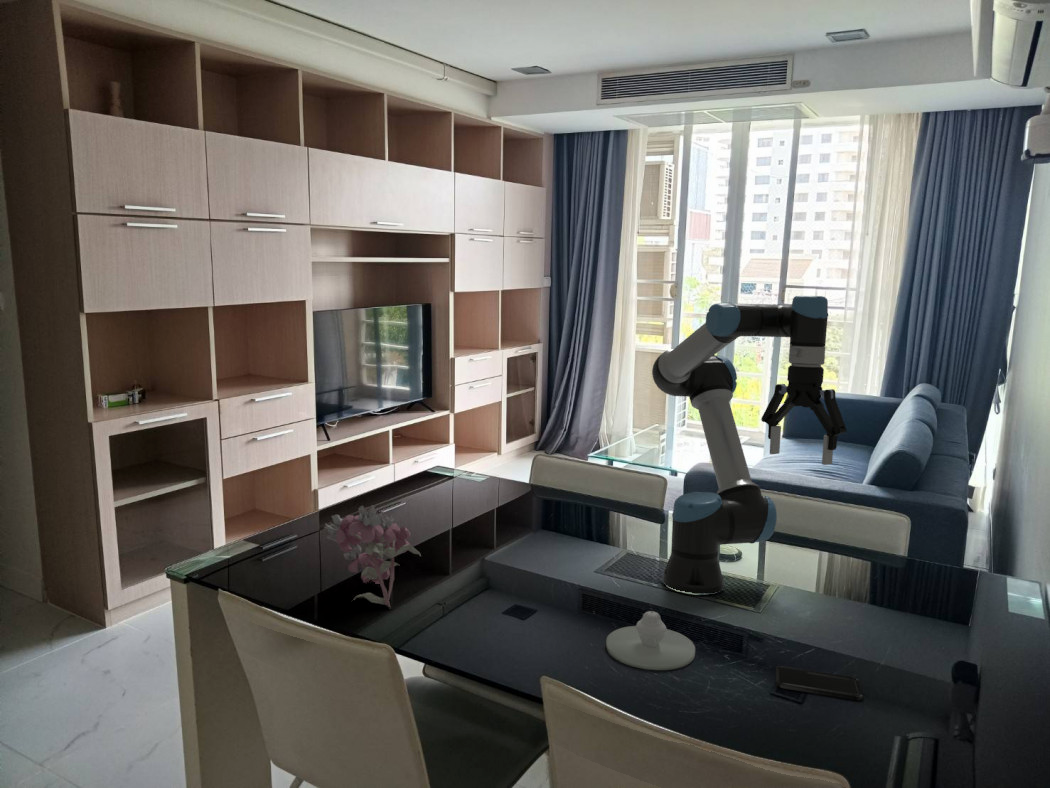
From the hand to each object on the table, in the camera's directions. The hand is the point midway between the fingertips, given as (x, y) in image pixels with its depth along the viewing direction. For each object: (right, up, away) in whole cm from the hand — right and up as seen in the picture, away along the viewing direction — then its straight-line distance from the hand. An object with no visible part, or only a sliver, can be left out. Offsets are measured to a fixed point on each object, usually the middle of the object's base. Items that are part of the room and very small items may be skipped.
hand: (799, 458), depth 173 cm
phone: (-7, -41, -29) cm, 50 cm away
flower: (-99, -33, +11) cm, 105 cm away
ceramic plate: (-37, -38, -16) cm, 55 cm away
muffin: (-37, -37, -16) cm, 54 cm away
